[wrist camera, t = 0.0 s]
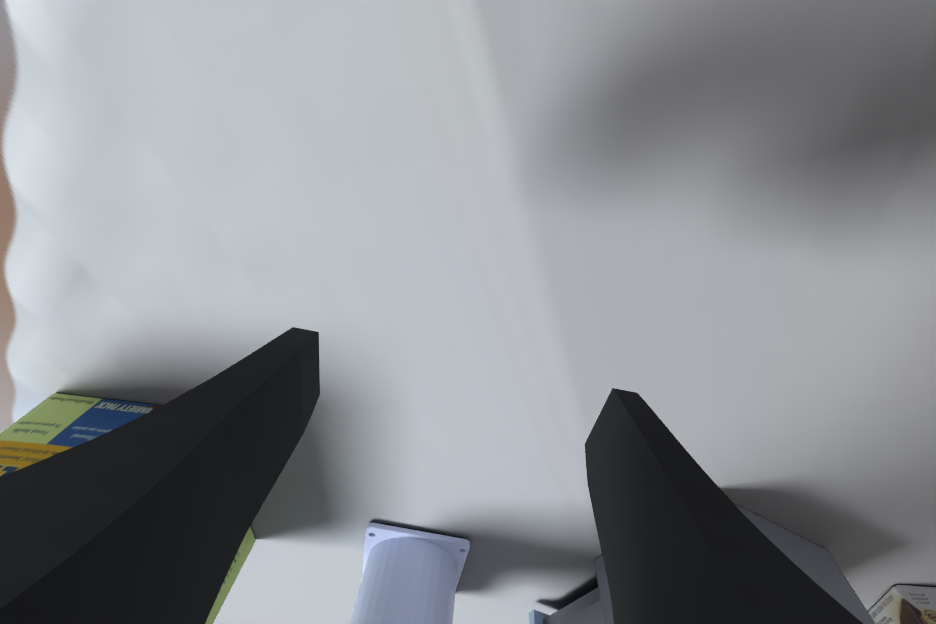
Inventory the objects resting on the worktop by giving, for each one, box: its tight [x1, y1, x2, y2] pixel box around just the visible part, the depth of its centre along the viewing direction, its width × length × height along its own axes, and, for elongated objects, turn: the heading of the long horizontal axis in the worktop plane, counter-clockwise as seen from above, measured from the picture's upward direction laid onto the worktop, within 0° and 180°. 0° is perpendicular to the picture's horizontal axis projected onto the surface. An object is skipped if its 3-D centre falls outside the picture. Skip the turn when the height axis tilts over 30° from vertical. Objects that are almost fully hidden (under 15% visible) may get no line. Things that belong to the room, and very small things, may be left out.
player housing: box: [594, 503, 875, 624], centre depth 28 cm, size 11×12×6 cm
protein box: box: [0, 393, 255, 624], centre depth 24 cm, size 10×15×16 cm
